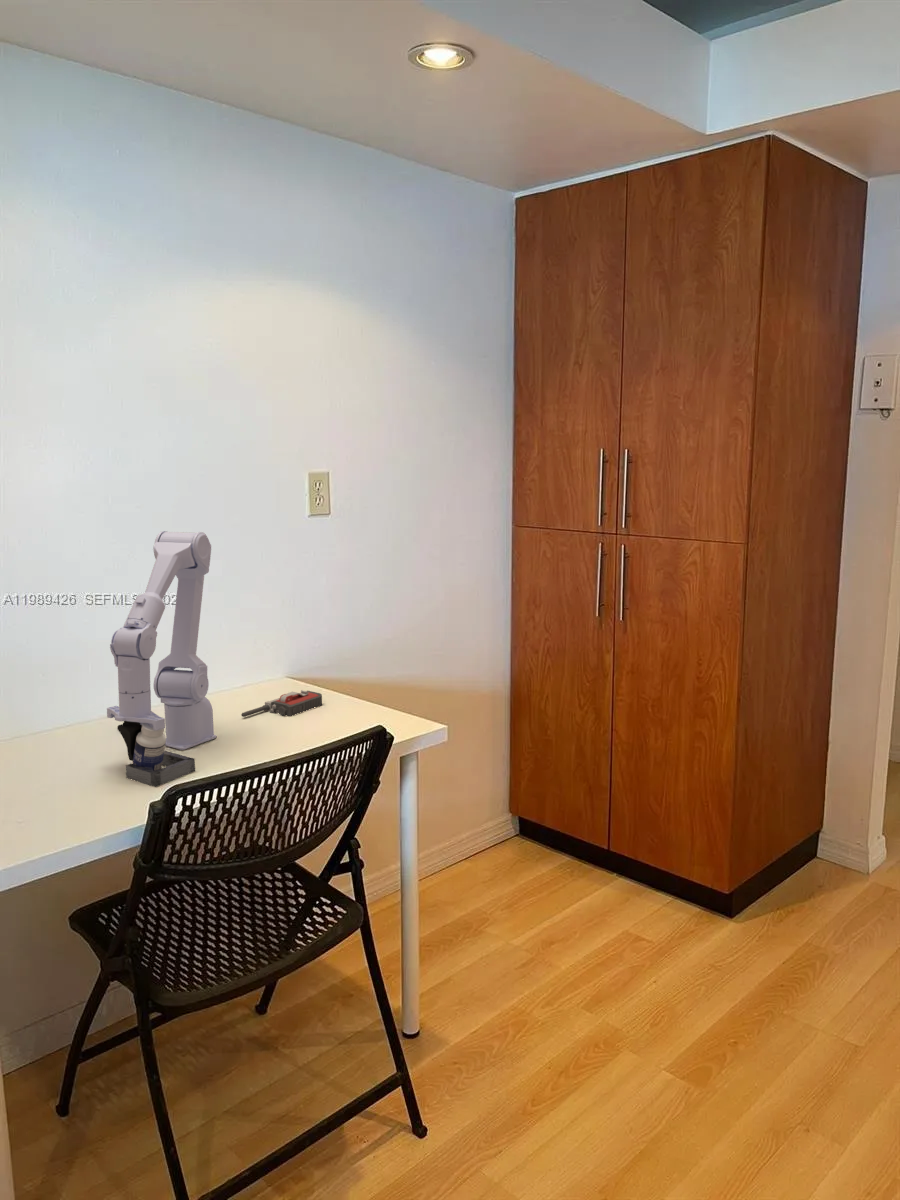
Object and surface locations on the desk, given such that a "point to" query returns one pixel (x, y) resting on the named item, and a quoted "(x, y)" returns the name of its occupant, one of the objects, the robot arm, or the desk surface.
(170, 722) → the robot arm
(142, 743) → the pill bottle
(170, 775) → the docking socket
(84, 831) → the desk surface
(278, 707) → the walkie-talkie
